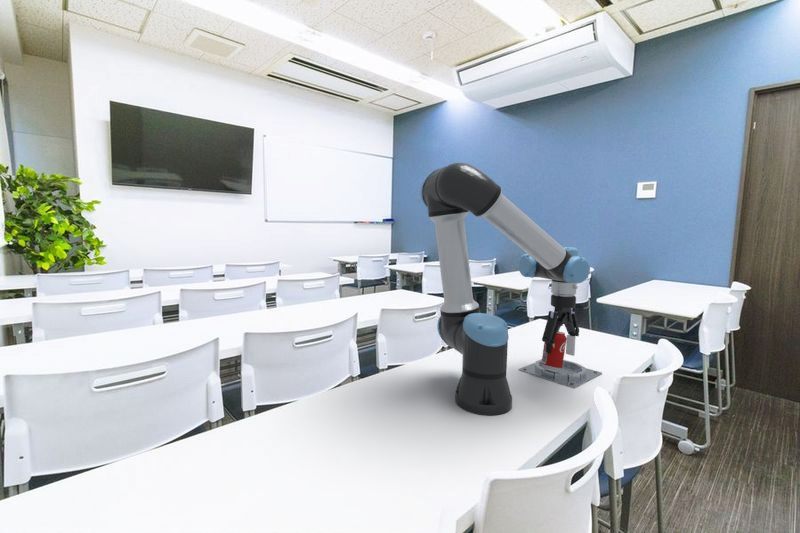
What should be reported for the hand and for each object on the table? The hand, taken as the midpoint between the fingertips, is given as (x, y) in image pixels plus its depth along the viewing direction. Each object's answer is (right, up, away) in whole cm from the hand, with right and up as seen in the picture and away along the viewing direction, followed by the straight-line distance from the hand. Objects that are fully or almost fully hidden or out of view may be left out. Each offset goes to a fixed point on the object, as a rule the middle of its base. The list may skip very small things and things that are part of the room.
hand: (560, 358), depth 127 cm
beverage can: (-4, -3, -3) cm, 6 cm away
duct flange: (0, -5, 0) cm, 5 cm away
